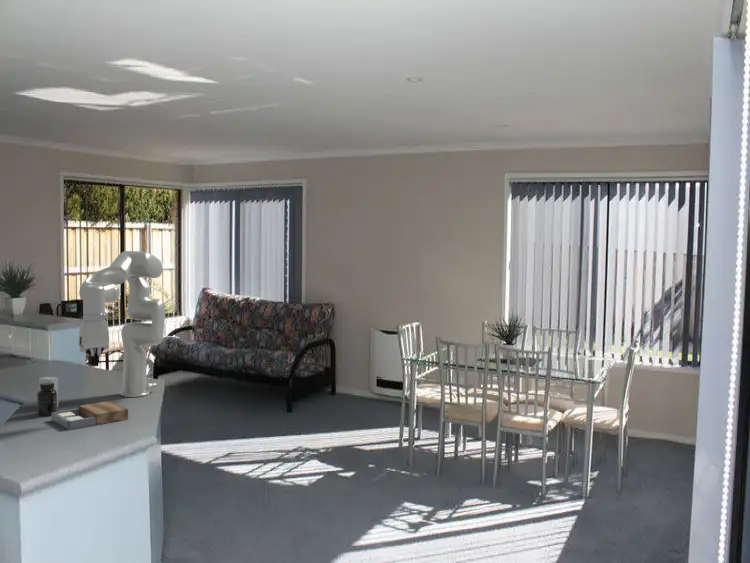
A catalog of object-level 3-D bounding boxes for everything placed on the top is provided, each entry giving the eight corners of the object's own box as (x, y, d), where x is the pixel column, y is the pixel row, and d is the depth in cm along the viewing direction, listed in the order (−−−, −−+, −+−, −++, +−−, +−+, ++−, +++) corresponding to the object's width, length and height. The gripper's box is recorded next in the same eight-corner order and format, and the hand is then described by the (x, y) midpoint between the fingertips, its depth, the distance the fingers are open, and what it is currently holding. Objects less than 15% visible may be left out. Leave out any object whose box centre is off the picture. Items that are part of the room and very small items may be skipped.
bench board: (109, 410, 260) (109, 400, 260) (127, 419, 249) (128, 409, 249) (78, 415, 251) (78, 405, 251) (96, 425, 240) (96, 414, 240)
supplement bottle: (52, 410, 257) (51, 380, 257) (60, 414, 253) (60, 383, 252) (34, 414, 252) (33, 383, 251) (42, 417, 248) (42, 386, 247)
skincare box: (58, 406, 264) (58, 377, 263) (50, 409, 260) (51, 379, 259) (46, 405, 265) (46, 376, 265) (38, 407, 261) (38, 378, 261)
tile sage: (64, 418, 239) (64, 423, 239) (69, 421, 235) (69, 426, 235) (79, 415, 242) (78, 421, 243) (84, 418, 239) (84, 424, 239)
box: (78, 416, 251) (78, 408, 251) (95, 425, 240) (95, 417, 240) (51, 420, 244) (51, 412, 244) (68, 430, 233) (68, 421, 233)
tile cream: (56, 413, 244) (56, 419, 244) (61, 416, 241) (61, 422, 241) (70, 411, 248) (70, 416, 248) (75, 414, 244) (75, 419, 244)
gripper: (109, 315, 254) (109, 361, 256) (69, 318, 243) (70, 366, 245) (118, 317, 249) (118, 364, 251) (78, 320, 238) (78, 370, 240)
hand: (94, 365), depth 248 cm, fingers closed
